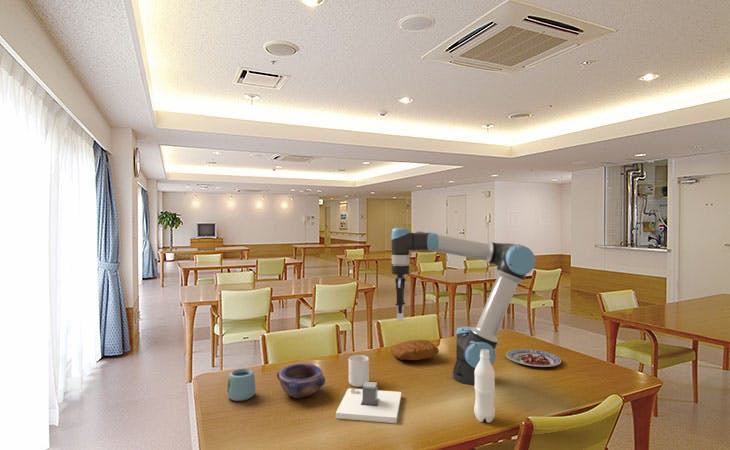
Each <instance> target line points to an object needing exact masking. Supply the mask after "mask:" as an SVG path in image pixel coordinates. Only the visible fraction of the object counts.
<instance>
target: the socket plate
mask: <svg viewBox="0 0 730 450" xmlns="http://www.w3.org/2000/svg"><path fill="white" fill-rule="evenodd" d="M401 401H402V392H401V391H393V390H381V389H380V390H379V389H378V395H377V406H367V405H363V388H347V389H346V392H345V394H344V395H343V398H342V399H341V401H340V403H339V405H338V407H337V410H336V411H335V419H340V420H341V419H342V420H352V421H353V420H354V421H366V422H375V423H376V422H377V423H386V424H387V423H389V424H390V423H391V424H397V423H398V417H399V412H400V406H401Z"/></svg>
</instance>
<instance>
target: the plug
mask: <svg viewBox="0 0 730 450" xmlns="http://www.w3.org/2000/svg"><path fill="white" fill-rule="evenodd" d="M378 387H379V386H378V382H377V381H376V382H374V381H369V382H365V383H364V386H363V387H362V389H363V405H367V406H378V404H377V395H378V390H379V389H378Z"/></svg>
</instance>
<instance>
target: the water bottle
mask: <svg viewBox="0 0 730 450" xmlns="http://www.w3.org/2000/svg"><path fill="white" fill-rule="evenodd" d="M480 353H481V354H480V361H479V363H478V364H477V366H476V368H475V372H474V374H475V384H474V393H475V398H474V399H475V401H474V407H473V409H474V411H473V412H474V413H473V414H474V416H475V417H476V420H478V422H480V423H483V422H484V420H485V421H486V423H489V424H490V423H492V421H493V420H494V419H495V417H496V410H495V408H496V407H495V402H494V401H495V399H494V398H495V391H496V387H495V386H496V384H495V383H496V382H495V381H496V372H495V369H494V367H493V364H492V365H491V363H490V360H489V358H490V355H489V350H487V349H481V350H480Z"/></svg>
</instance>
